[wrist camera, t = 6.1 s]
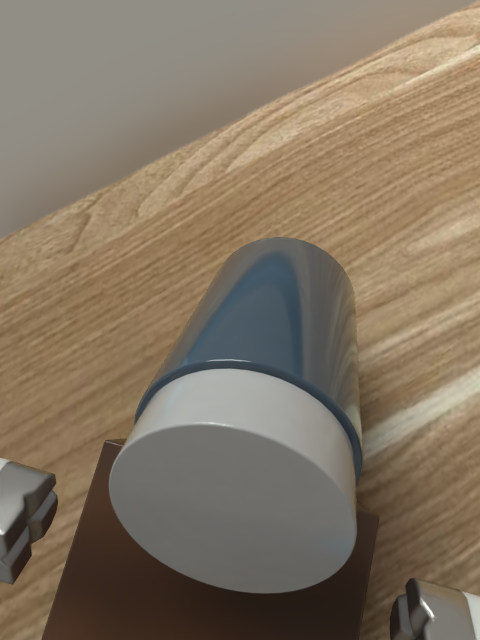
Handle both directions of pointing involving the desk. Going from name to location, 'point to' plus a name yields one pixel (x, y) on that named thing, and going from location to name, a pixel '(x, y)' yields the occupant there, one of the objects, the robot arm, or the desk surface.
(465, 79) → the desk surface
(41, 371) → the desk surface
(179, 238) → the desk surface
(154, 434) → the jar
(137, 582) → the prop block
